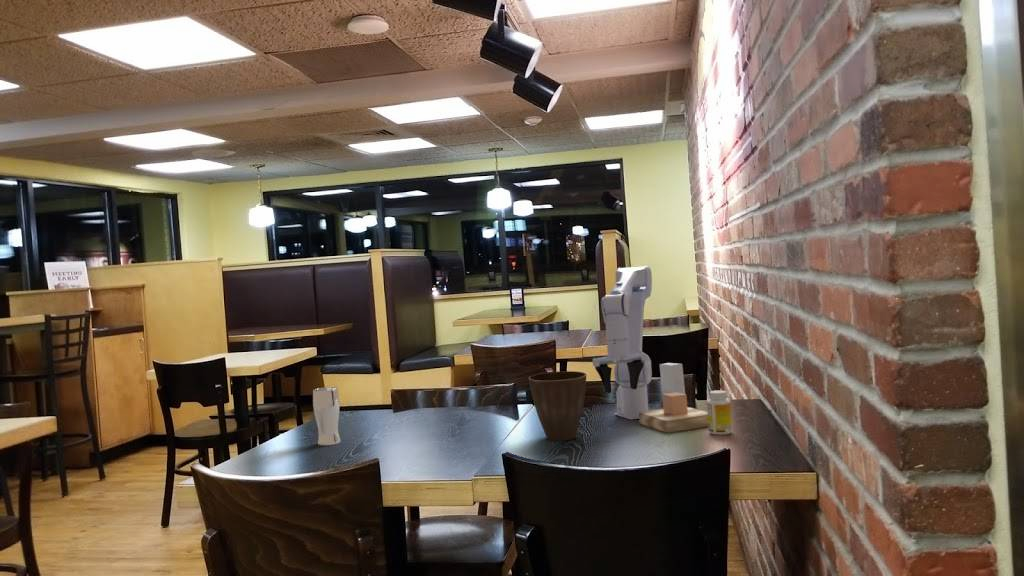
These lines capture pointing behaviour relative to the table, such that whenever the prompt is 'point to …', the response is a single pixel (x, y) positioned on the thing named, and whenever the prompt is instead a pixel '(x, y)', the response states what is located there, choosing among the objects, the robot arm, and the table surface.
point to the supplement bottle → (719, 413)
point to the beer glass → (327, 415)
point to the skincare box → (672, 378)
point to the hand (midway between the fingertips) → (621, 390)
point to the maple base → (674, 420)
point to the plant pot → (559, 402)
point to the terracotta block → (675, 403)
